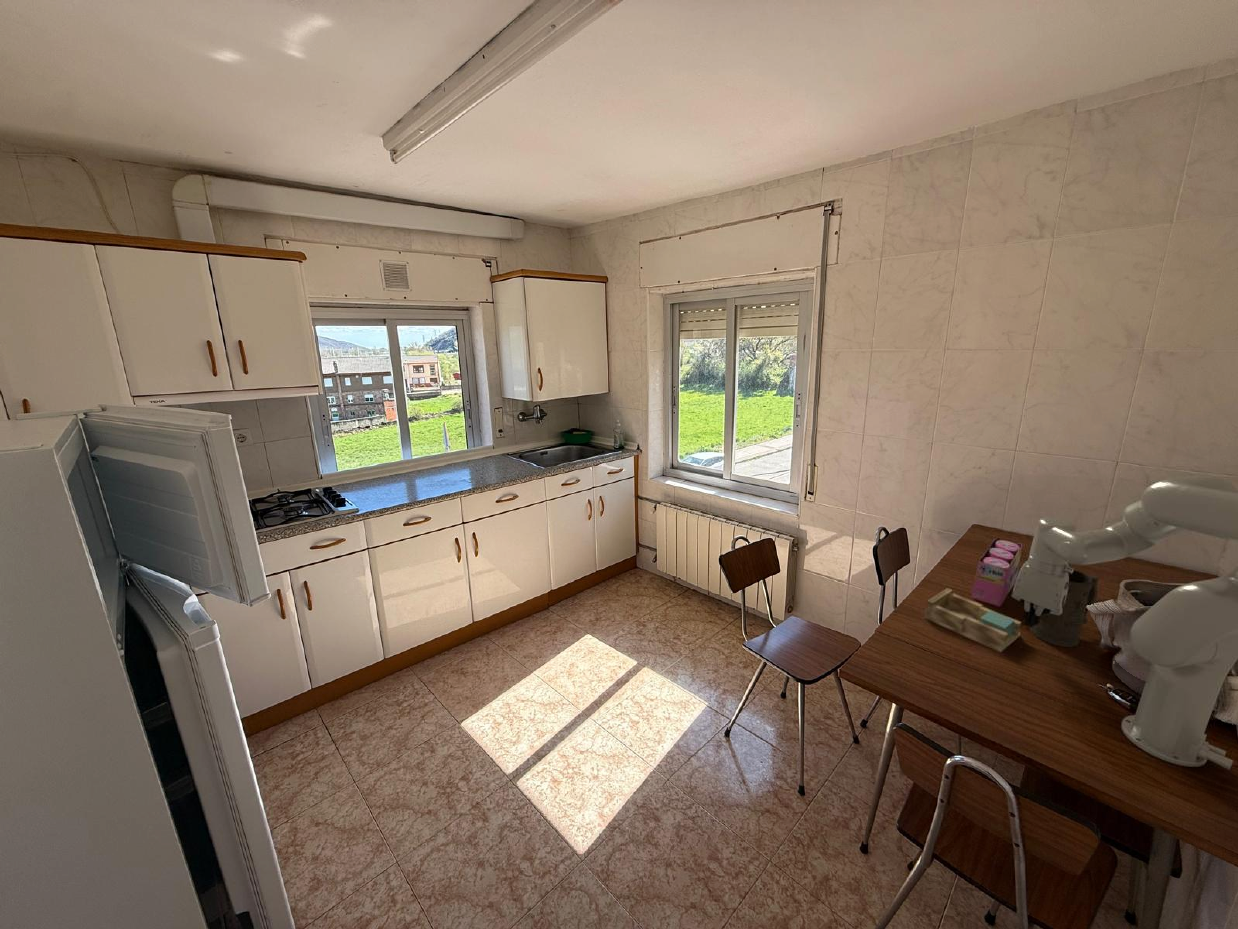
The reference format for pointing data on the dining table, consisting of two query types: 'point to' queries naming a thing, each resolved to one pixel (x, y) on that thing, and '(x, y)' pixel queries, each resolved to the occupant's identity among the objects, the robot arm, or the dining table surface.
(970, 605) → the chute
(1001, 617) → the block
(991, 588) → the gum box
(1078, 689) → the dining table surface
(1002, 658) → the dining table surface
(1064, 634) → the beer stein
